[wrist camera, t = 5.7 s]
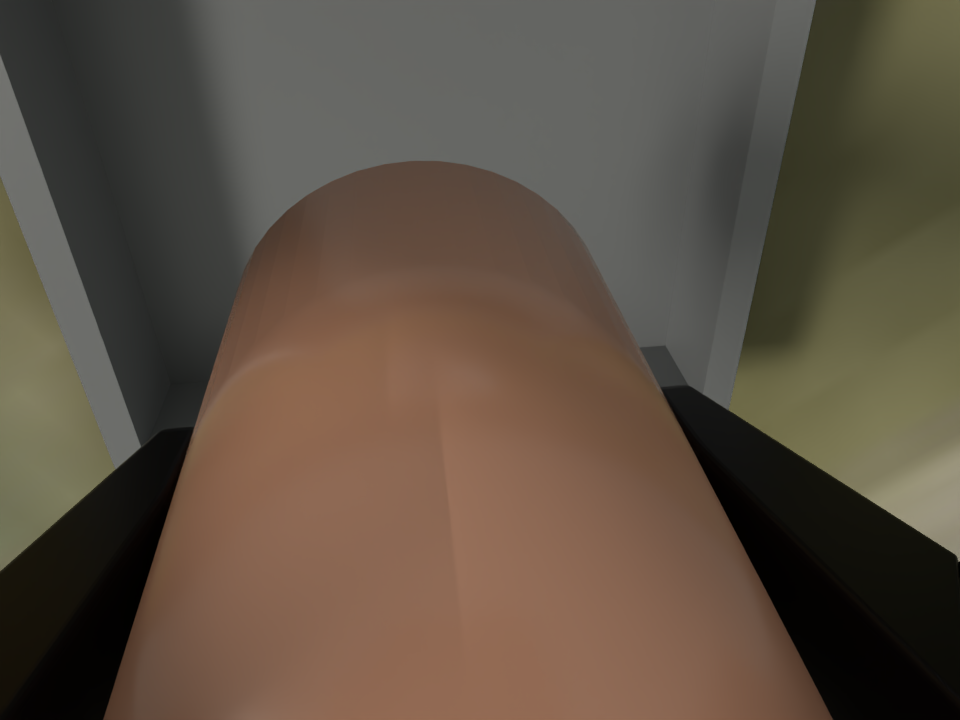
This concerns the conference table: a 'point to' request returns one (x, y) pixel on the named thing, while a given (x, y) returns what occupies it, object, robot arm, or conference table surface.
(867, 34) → the conference table surface
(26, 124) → the tray
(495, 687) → the shaker
